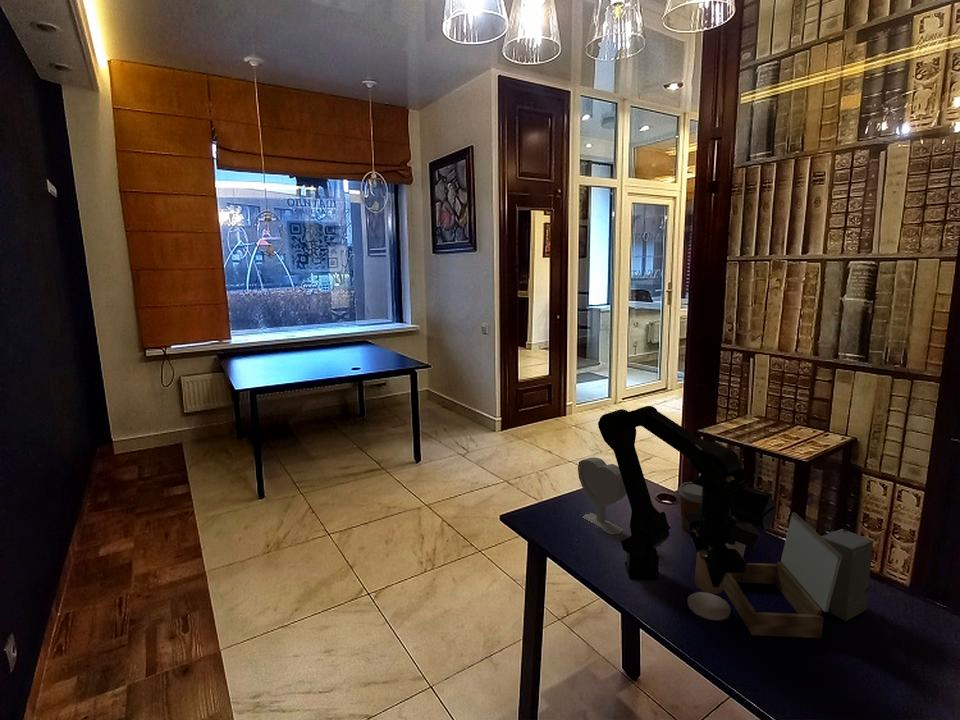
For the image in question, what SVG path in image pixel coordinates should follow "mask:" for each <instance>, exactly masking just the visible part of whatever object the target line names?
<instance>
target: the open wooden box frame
mask: <svg viewBox="0 0 960 720" xmlns="http://www.w3.org/2000/svg"><path fill="white" fill-rule="evenodd" d="M738 583H740V584H741V583H742V584H744V583H746V584H766V585H767V584H769V585H770V584H771V585H775V586H776V588H778V590H779V592H781V594H782V595H783V596H784V598H785V599H786V600H787V601H788V603H789V604H790V606H791V607H792V608H793V609H794V611H795V612H796V613H783V612H761V611H760V612H759V611H756V610H755V608H754V606H753V605H752V603H751V602H750V600H749V599H748V598H747V595H745V593H744V592H743V589H741V587H740V585H739V584H738ZM723 591H724V592H725V593H726V595H727V596H728V598H729V600H730V602H731V603H732V605H733V607H734V608H735V610H736V612H737V613H738V614H739V615H738V616H739V617H740V618H741V620H742V621H743V623H744V625H745V626H746V627H747V629H748V631H749V633H750V634H751V636H763V637H765V636H767V637H787V638H788V637H791V638H810V639H811V638H812V639H822V635H823V627H824V620H825V617H824V616H823V615H822V614H823V613H822V612H823V610H822V608H820V607H819V606H818V605H817V604H816V603H815V600H814V599H813V598H812V597H811V596H810V595H809V593H808V592H807V591H806V590H805V589H804V588H803V586H802V585H801V584H800V583H799V582H798V581H797V579H796V578H795V577H794V576H793V575H792V574H791V572H790V571H789V570H788V569H787V568H786V567H785V565H784V564H783V563H782V562H781V561H777V562H776V563H762V562H761V563H760V562H759V563H758V562H756V563H755V562H747V569H746V573H726V574H725V578H724V588H723Z"/></svg>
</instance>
